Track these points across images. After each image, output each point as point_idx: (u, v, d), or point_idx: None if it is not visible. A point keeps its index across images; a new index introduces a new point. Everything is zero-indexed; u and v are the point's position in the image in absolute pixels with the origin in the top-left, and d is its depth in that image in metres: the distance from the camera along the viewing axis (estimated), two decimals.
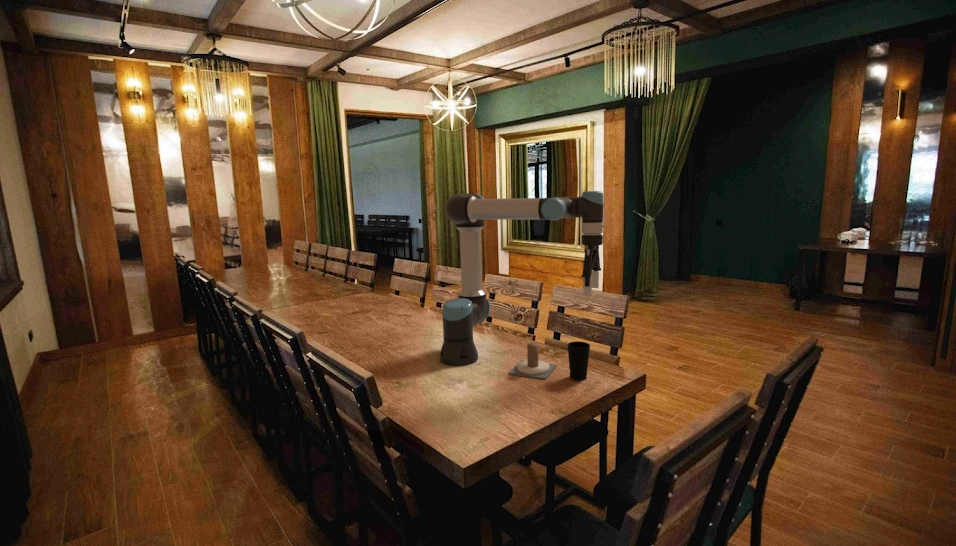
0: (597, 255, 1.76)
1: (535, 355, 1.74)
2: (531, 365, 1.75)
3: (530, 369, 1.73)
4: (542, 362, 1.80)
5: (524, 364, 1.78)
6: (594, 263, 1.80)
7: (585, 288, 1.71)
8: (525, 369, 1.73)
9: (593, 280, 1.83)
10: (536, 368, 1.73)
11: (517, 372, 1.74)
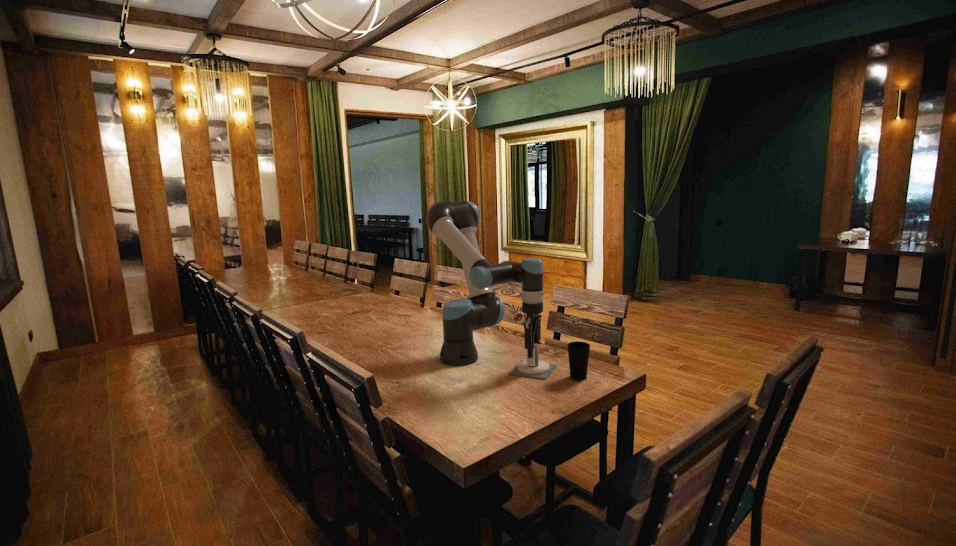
0: (538, 322, 1.74)
1: (535, 355, 1.74)
2: None
3: (530, 369, 1.73)
4: (542, 362, 1.80)
5: (524, 364, 1.78)
6: (534, 333, 1.76)
7: (528, 359, 1.74)
8: (525, 369, 1.73)
9: None
10: (536, 368, 1.73)
11: (517, 372, 1.74)
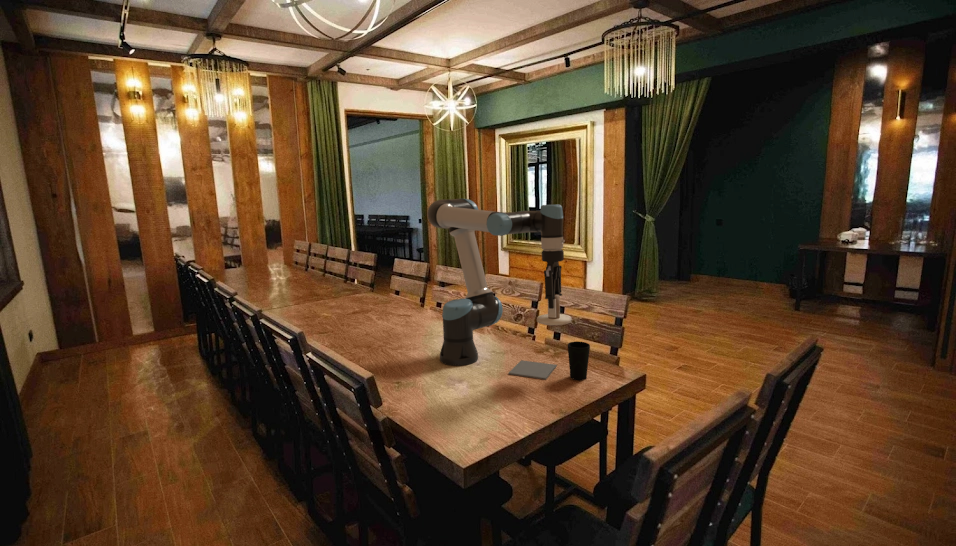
0: (558, 272, 1.67)
1: (556, 306, 1.67)
2: None
3: (551, 320, 1.65)
4: (563, 315, 1.72)
5: (545, 317, 1.70)
6: (555, 284, 1.69)
7: (549, 310, 1.67)
8: (546, 320, 1.66)
9: None
10: (557, 319, 1.66)
11: (517, 372, 1.74)
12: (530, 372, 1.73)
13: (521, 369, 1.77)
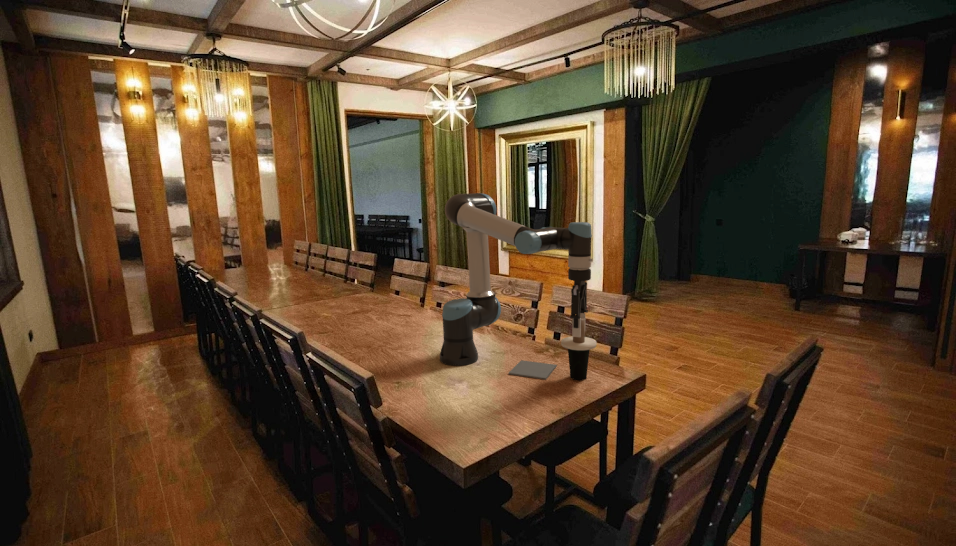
0: (585, 291, 1.64)
1: (582, 330, 1.64)
2: (577, 341, 1.65)
3: (577, 345, 1.63)
4: (588, 338, 1.70)
5: (569, 340, 1.68)
6: (581, 302, 1.67)
7: (574, 329, 1.63)
8: (571, 344, 1.63)
9: None
10: (583, 344, 1.63)
11: (517, 372, 1.74)
12: (530, 372, 1.73)
13: (521, 369, 1.77)
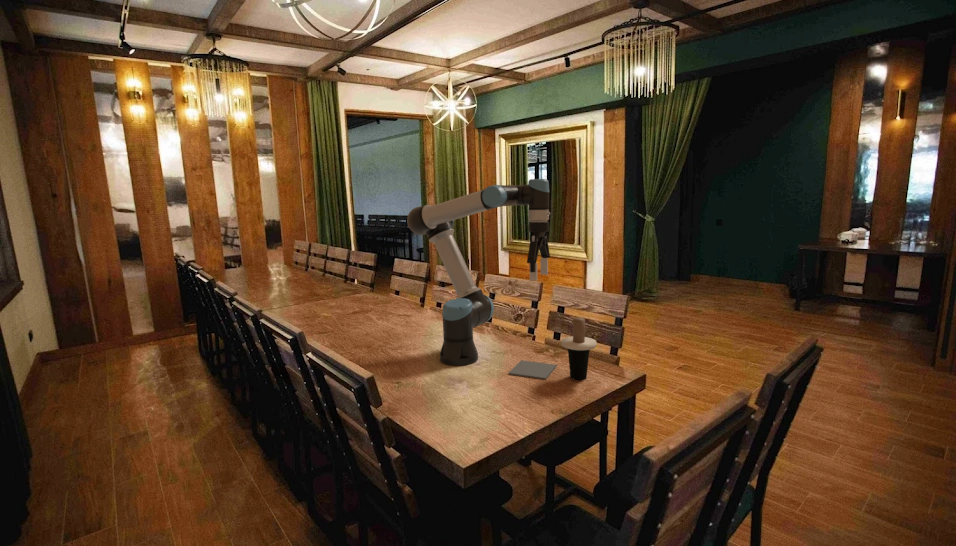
0: (544, 242, 1.80)
1: (582, 330, 1.64)
2: (577, 341, 1.65)
3: (577, 345, 1.63)
4: (588, 338, 1.70)
5: (569, 340, 1.68)
6: (542, 250, 1.84)
7: (531, 274, 1.75)
8: (571, 344, 1.63)
9: (542, 267, 1.87)
10: (583, 344, 1.63)
11: (517, 372, 1.74)
12: (530, 372, 1.73)
13: (521, 369, 1.77)
